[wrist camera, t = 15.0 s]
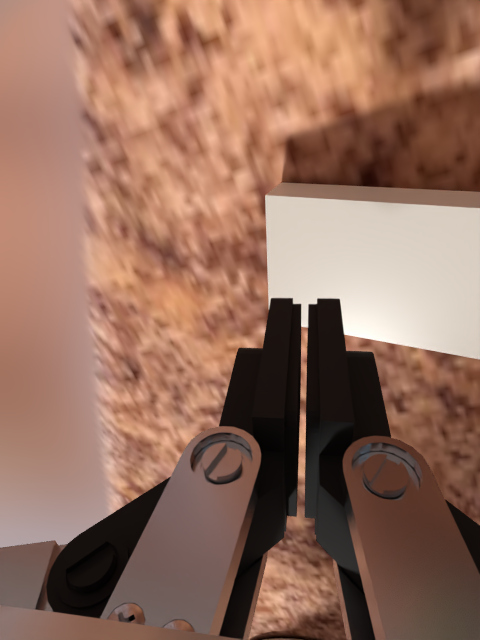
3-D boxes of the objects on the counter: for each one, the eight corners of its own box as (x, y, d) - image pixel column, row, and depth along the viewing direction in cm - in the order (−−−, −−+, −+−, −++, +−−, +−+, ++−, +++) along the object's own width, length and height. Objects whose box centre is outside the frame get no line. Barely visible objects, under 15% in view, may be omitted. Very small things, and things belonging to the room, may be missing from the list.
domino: (281, 182, 15) (633, 199, 11) (282, 300, 17) (563, 347, 14) (265, 195, 13) (654, 219, 10) (269, 320, 16) (573, 376, 12)
